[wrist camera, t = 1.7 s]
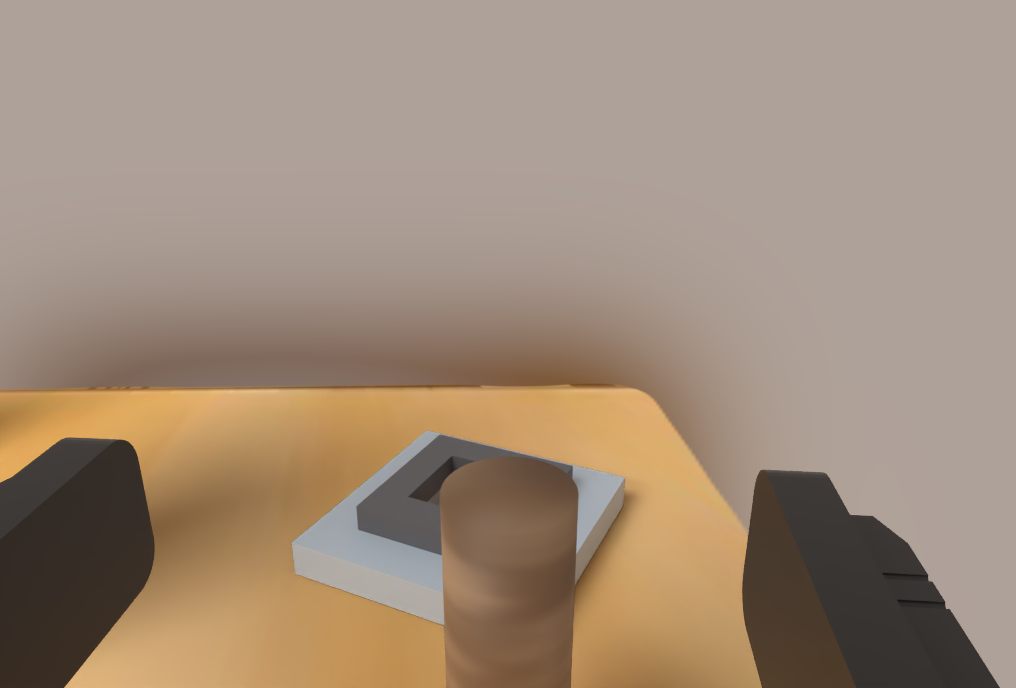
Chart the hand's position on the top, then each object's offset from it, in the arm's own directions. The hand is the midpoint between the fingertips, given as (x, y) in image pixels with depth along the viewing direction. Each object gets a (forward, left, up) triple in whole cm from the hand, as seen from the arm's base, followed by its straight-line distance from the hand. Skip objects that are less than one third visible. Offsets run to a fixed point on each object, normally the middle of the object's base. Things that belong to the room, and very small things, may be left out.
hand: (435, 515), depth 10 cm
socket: (-14, +26, -22) cm, 37 cm away
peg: (-4, +10, -22) cm, 24 cm away
